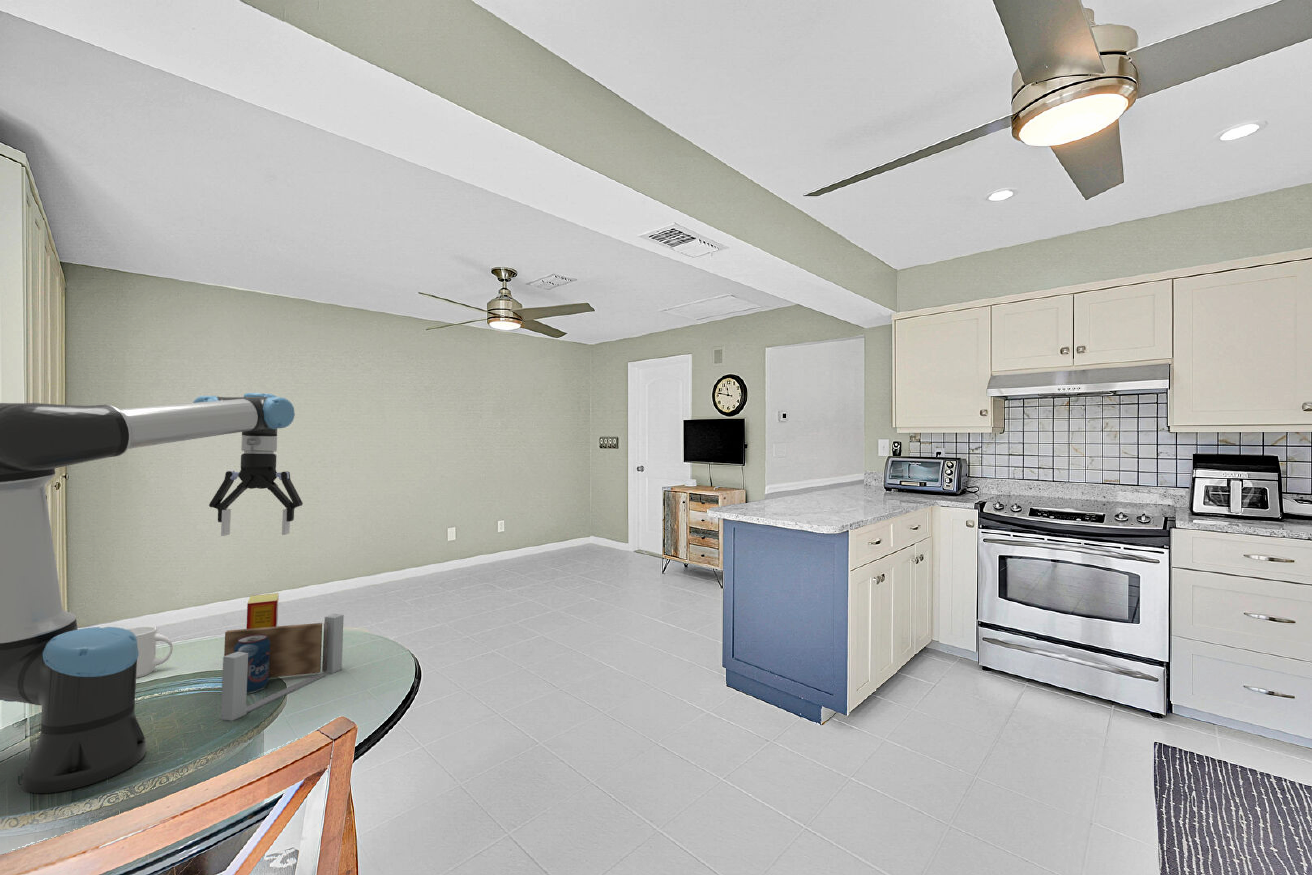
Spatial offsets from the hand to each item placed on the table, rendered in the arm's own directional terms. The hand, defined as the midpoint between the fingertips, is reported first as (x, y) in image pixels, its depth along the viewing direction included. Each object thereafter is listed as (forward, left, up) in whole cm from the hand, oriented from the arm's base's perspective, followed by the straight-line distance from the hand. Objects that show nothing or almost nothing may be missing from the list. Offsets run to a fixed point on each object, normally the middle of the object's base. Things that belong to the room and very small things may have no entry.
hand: (255, 534), depth 142 cm
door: (-2, -11, -34) cm, 36 cm away
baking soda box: (+9, +7, -35) cm, 37 cm away
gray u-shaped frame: (-7, -20, -35) cm, 41 cm away
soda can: (-9, -11, -35) cm, 37 cm away
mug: (-9, +24, -35) cm, 43 cm away
